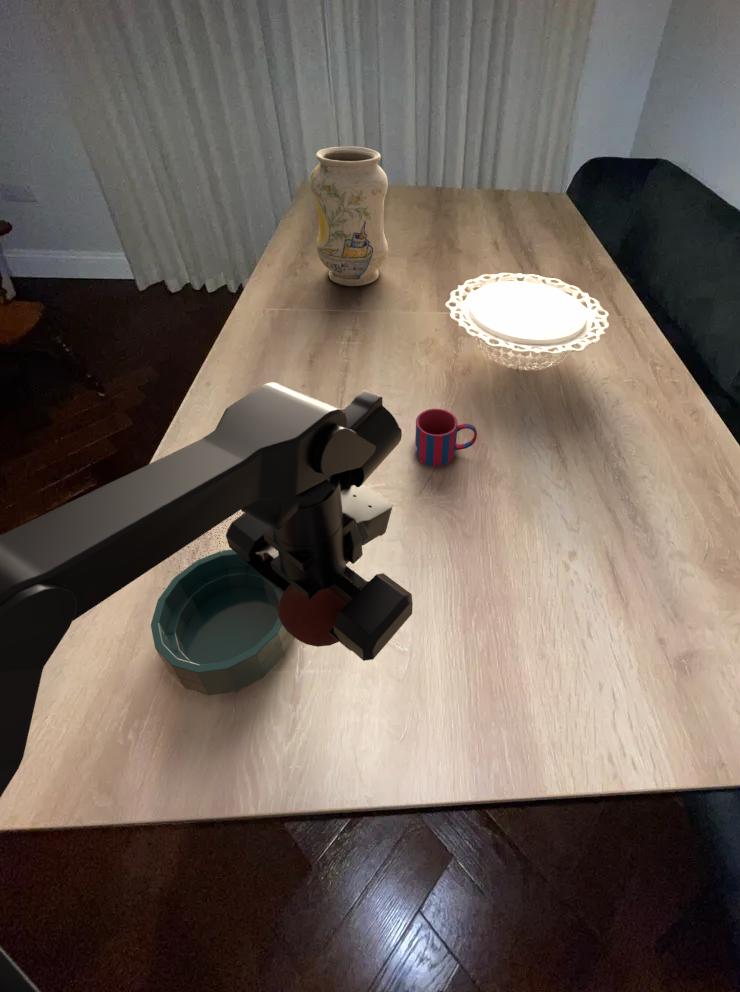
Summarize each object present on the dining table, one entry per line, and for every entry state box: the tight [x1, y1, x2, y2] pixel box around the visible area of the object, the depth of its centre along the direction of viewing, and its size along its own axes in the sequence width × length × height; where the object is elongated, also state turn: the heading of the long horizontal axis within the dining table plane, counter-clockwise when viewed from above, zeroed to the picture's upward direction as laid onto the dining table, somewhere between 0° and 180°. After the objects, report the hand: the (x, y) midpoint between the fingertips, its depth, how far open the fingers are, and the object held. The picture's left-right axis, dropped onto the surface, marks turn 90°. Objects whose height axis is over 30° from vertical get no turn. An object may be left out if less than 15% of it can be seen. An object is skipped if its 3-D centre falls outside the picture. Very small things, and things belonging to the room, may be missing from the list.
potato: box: [277, 576, 357, 648], centre depth 52 cm, size 7×8×7 cm
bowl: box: [150, 549, 295, 696], centre depth 61 cm, size 15×15×6 cm
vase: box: [309, 145, 389, 287], centre depth 129 cm, size 18×18×30 cm
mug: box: [414, 408, 478, 467], centre depth 86 cm, size 7×10×7 cm
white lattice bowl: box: [444, 272, 610, 372], centre depth 107 cm, size 32×32×13 cm
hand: (323, 616), depth 54 cm, fingers closed on potato, 8 cm apart
